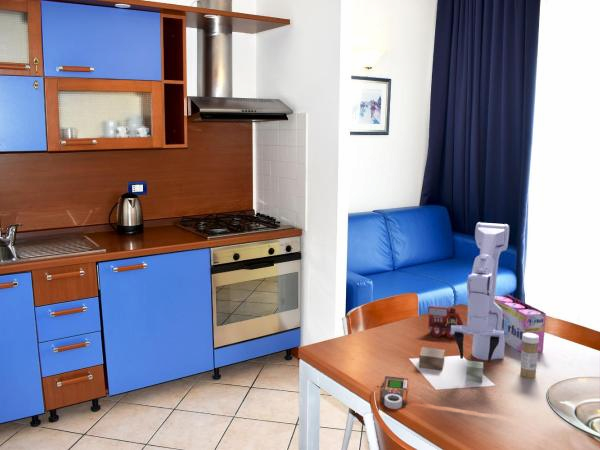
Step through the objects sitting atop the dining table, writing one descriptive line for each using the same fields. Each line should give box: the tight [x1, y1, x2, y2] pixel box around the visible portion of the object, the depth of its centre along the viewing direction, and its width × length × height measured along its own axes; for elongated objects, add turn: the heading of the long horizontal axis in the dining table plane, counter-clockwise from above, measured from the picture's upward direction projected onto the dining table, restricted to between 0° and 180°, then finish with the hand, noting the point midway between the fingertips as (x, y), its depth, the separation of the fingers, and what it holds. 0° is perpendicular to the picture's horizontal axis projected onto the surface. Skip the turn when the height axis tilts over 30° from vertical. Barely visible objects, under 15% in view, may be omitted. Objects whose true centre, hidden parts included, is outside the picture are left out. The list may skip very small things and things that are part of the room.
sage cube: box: [466, 359, 484, 383], centre depth 164 cm, size 4×4×4 cm
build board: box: [408, 355, 496, 391], centre depth 169 cm, size 18×22×1 cm
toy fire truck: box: [427, 305, 464, 339], centre depth 201 cm, size 7×12×10 cm, turn 75°
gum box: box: [489, 293, 547, 353], centre depth 196 cm, size 24×8×14 cm, turn 12°
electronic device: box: [381, 375, 409, 410], centre depth 155 cm, size 7×3×15 cm
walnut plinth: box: [418, 346, 446, 371], centre depth 174 cm, size 7×7×4 cm
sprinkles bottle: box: [519, 333, 539, 379], centre depth 166 cm, size 5×5×13 cm
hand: (475, 359), depth 163 cm, fingers open, 7 cm apart
